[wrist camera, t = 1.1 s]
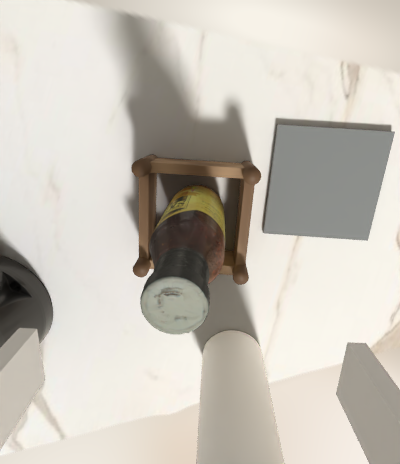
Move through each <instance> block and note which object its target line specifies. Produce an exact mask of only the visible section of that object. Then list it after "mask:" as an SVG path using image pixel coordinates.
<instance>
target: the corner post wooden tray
mask: <svg viewBox="0 0 400 464" xmlns="http://www.w3.org/2000/svg"><path fill="white" fill-rule="evenodd" d="M132 172H133V174H134V175H135V176H137V177H139V258H138V260H137V262H136V263H135V265H134V267H133V272H134V274H135V275H136V276H138V277H144V276H146V275H147V273H148V271H149V269H154V264H153V261H152V258H151V254H150V250H149V243H150V239H151V236H152V234H153V232H154V230H155V228H156V187H157V173H166V174H181V175H196V176H211V177H226V178H241V180H240V190H239V200H238V209H237V219H236V229H235V239H234V249H233V251H227V250H224V253H225V255H224V262H223V265H222V269H221V271H220V273H219V274H226V275H233V280H234V282H235V283H237V284H240V285H242V284H245V283H246V282H247V281H248V278H249V277H248V272H247V268H246V263H245V262H246V253H247V245H248V236H249V227H250V219H251V210H252V202H253V193H254V185H255V184H257V183H258V182H259V181H260V179H261V173H260V171H259V170H258V169H257V168H256V167H255V166H254V165H253V164H252V163H251V162H250V161H243V162H242V163H230V162H215V161H200V160H185V159H169V158H158V157H157V156H155V155H149V156H146V157H144V158H142V159H139V160H137V161H135V162H134V163H133V164H132Z"/></svg>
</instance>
